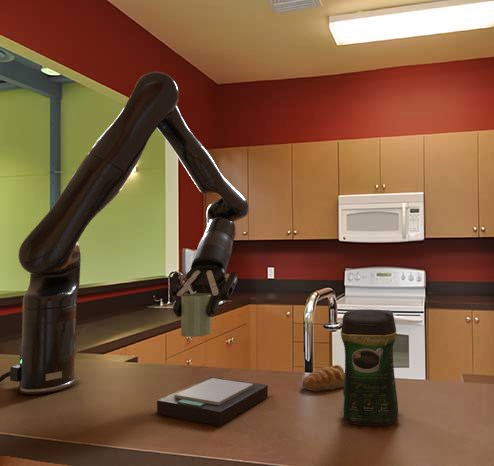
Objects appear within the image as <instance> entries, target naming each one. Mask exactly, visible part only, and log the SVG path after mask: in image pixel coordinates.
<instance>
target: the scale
mask: <svg viewBox="0 0 494 466" xmlns="http://www.w3.org/2000/svg"><path fill="white" fill-rule="evenodd" d="M268 388H269V386H268V384H263V383H257V382H256V383H255V382H248V381H242V380H235V379H227V378H220V377H213V376H211V377H208V378H206V379H204V380H201V381H199V382H197V383H195V384H192V385H190V386H187V387H185V388H183V389H180V390H178V391H176V392H174V393H171V394H169V395H167V396H164V397H161V398H160V399H158V400H156V414H157V415H159V416H160V415H161V416H166V417H172V418H176V419H181V420H186V421H191V422H197V423H201V424H207V425H212V426H217V427H221V426H223V425H224V424H226V423H228V422H230V421H231V420H233V419H234V418H237V417H238V416H240V415H241V414H242V413H244V412H246V411H248V410H250V408H253V407H254V406H255V405H257V404H259V403H260V402H262V401H264V400H266V399H267V398H268V395H269V393H268V390H269V389H268Z"/></svg>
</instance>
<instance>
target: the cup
mask: <svg viewBox="0 0 494 466" xmlns="http://www.w3.org/2000/svg"><path fill="white" fill-rule="evenodd" d="M212 296H213V294H212V293H208V292H196V293H194V294H185V295H181V317H180V335H181V337H185V338H197V337H204V336H209V335H211V334H212V324H213V323H212V321H213V320H212V318H213V316H212V317H208V314H207V307H208V304H209V301H210V298H211V297H212Z"/></svg>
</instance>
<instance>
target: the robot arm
mask: <svg viewBox="0 0 494 466" xmlns="http://www.w3.org/2000/svg"><path fill="white" fill-rule="evenodd" d="M179 100H180V92H179V88H178V85H177V83H176V82H175V80H174V79H173V78H172V77H171V76H170V75H169V74H166V73H165V72H162V71H152V72H147V73H145V74H143V75H142V76H140V77H139V79H137V81H136V83H135V86H134V87H133V90H132V92H131V94H130V96H129V98H128V100H127V101H126V103H125V104H124V107H123V109H122V110H121V112H120V114H119V115H118V116H117V118H116V119H115V120H114V121H113V123H111V125H110V126H109V127H108V128H107V129H106V130H105V131H104V132H103V133H102V134H101V136H100V137H99V138H98V139H97V140H96V142H95V143H94V145H93V146H92V147H91V148H90V150H89V151H88V153H87V154H86V155H85V157H84V158H83V159H82V161H81V163H80V164H79V165H78V167H77V169H76V170H75V172H74V173H73V175H72V176H71V178H70V180H69V181H68V182H67V184H66V186H65V187H64V189H63V190H62V191H61V193H60V195H59V197H58V198H57V200H56V201H55V203H54V204H53V206H51V209H50V210H49V211H48V212H47V213H46V214H45V216H43V218H42V219H41V220H40V221H39V222H38V223H37V225H36V226H35V227H34V228H33V229H32V230H31V231H30V233H29V234H28V235H27V236H26V237H25V239H24V240H23V241H22V242H21V244H20V245H19V249H18V256H17V257H18V263H19V264H20V266H21V268H23V270H25V271H26V272H27V273H29V274H30V275H29V285H28V288H27V290H26V291H25V293H24V294H23V298H22V326H21V327H22V331H21V343H20V345H19V364H17V365H13V366H10V371H7V372H5V373H3V374H2V375H0V383H1V382H3V381H4V380H5V379H7V378H9V381H10V382H15V383H19V385H18V390H19V393H20V394H22V395H28V396H29V395H31V396H35V395H44V394H50V393H56V392H59V391H63V390H66V389H68V388H71V387H73V385H75V384H76V346H77V345H76V341H77V340H76V339H77V337H76V336H77V296H78V293H79V290H80V281H81V262H82V261H81V257H82V256H81V248H80V245H79V240H80V238H81V236H82V235H83V233H84V232H85V230H86V229H87V227H88V225H89V224H90V223H91V221H93V219H94V218H95V217H96V216H97V215H98V214H99V213H100V212H102V210H104V209H105V208H106V207H107V206H108V205H109V204H110V203H111V202H112V201H113V200H114V199H115V198H116V196H118V194H119V193H120V192H121V190H122V189H123V187H124V186H125V184H126V183H127V182H128V180H129V179H130V177H131V176H132V174H133V172H134V170H135V168H136V167H137V165H138V163H139V161H140V159H141V157H142V155H143V153H144V150H145V148H146V146H147V144H148V142H149V140H150V138H151V137H152V135H153V134H154V132H155V131H156V129H157V130H158V132H159V133H161V135H162V137H164V139H165V140H166V141H167V143H168V144H169V146H170V147H171V148H172V150H173V151H174V153H175V154H176V156H177V158H178V159H179V161H180V163H181V164H182V165H183V167H184V168H185V170H186V172H187V173H188V175H189V176H190V178H191V180H192V181H193V183H194V184H195V185H196V187H197V189H198V190H199V192H200V193H201V194H204V195H208V194H217V195H219V196H220V198H218V199H216V200H214V201H212V202H211V203H210V204H209V205H208V207H207V209H206V228H205V231H204V233H203V236H202V238H201V239H200V241H199V243H198V246H197V249H196V251H195V254H194V256H193V259H192V261H191V266H190V269H189V270H188V271H187V272H186V273H183V274H180V273H179V272H178V271H176V272H175V271H174V272H173V273H172V276H171V277H172V278H171V282H170V286H169V292H168V293H169V295H170V297H171V299H172V301H174V303H173V306H172V311H173V314H174V315H175V316H176V317H177V318H181V295H185V294H194V293H201V292H211V294H212V297H211V298H210V301H209V304H208V307H207V314H208V317H212V318H213V317H214V315H215V314H217V312H218V308H219V305H220V303H221V301H229V300H230V299H231V297H232V295H233V294H234V290H235V288H236V286H237V284H238V277H237V274H236V271H231V272H230V273H226V272H227V268H228V266H229V262H230V260H231V259H230V258H231V257H232V251H233V244H234V240H235V238H236V234H237V226H236V224H235V223H234V222H237V221H239V220H241V219H243V218H245V217H247V215H248V214H249V211H250V205H249V202H248V200H247V197H245V195H244V194H243V193H241V191H240V190H238V189H237V188H236V187H235V186H234V185H233V183H231V182H230V181H229V180H228V179H227V178H226V177H225V176H224V175H223V173H222V171H221V169H220V168H219V166H218V165H217V163H216V161H215V160H214V158H213V157H212V155H211V154H210V152H209V151H208V149H206V148H205V146H204V145H203V144H202V143H201V142H200V141H199V140H198V138H197V137H196V136H195V135H194V133H193V132H192V131H191V129H190V128H189V126H188V125H187V123H186V122H185V120H184V118H183V116H182V113H181V112H180V110H179V107H178V104H179ZM224 281H225V283H224V286H223V288H222V290H221V291H219V288H218V286H220V285H221V284H223V282H224Z"/></svg>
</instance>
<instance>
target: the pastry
mask: <svg viewBox="0 0 494 466" xmlns="http://www.w3.org/2000/svg"><path fill="white" fill-rule="evenodd" d="M344 375H345V369H344V368H343V367H342V365H339V364H334V365H333V364H332V365H331V366H323V367H319V368H318V369H316V370H315V371H314V372H311V373H309V374H308V375H307V376H305V377H303V379H302V382H301V387H302V388H304V389H306V390H310V391H312V392H320V391H327V390H328V391H329V390H334V389H337V388H338V389H339V388H344Z"/></svg>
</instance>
